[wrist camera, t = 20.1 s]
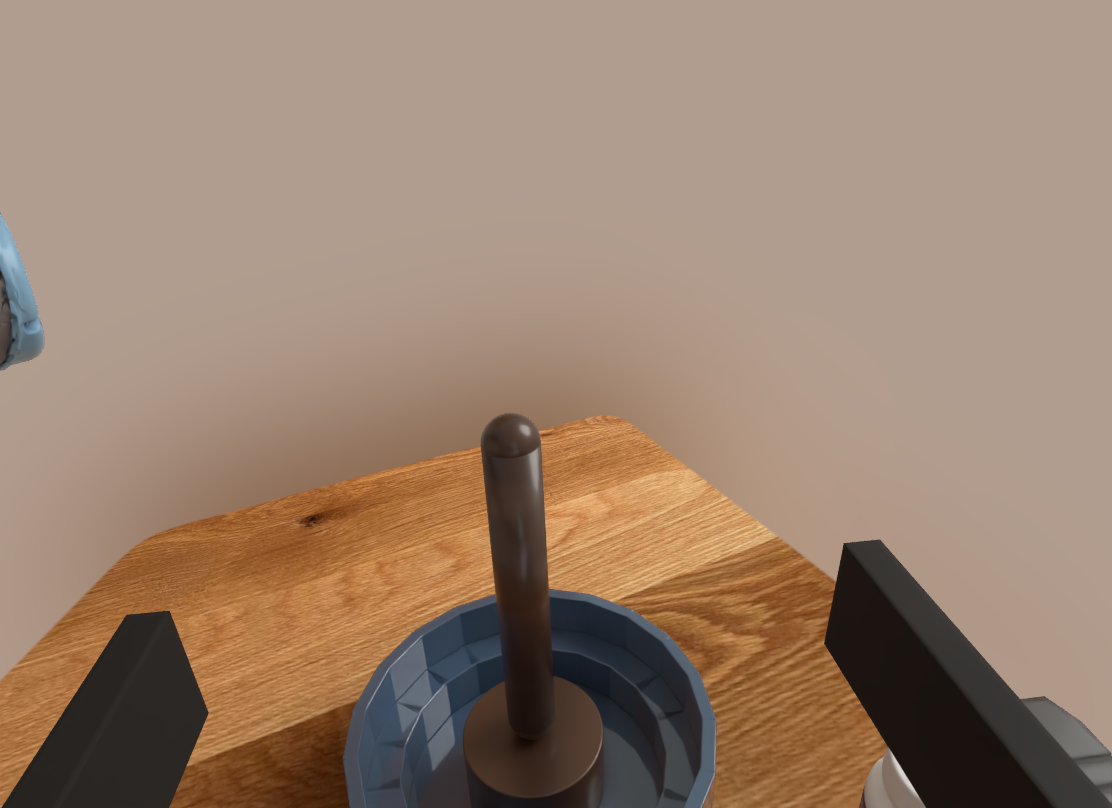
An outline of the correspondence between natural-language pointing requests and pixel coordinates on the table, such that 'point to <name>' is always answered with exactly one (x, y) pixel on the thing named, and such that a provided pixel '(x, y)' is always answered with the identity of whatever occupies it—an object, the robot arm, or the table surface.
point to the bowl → (578, 656)
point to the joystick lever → (527, 652)
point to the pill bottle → (889, 786)
